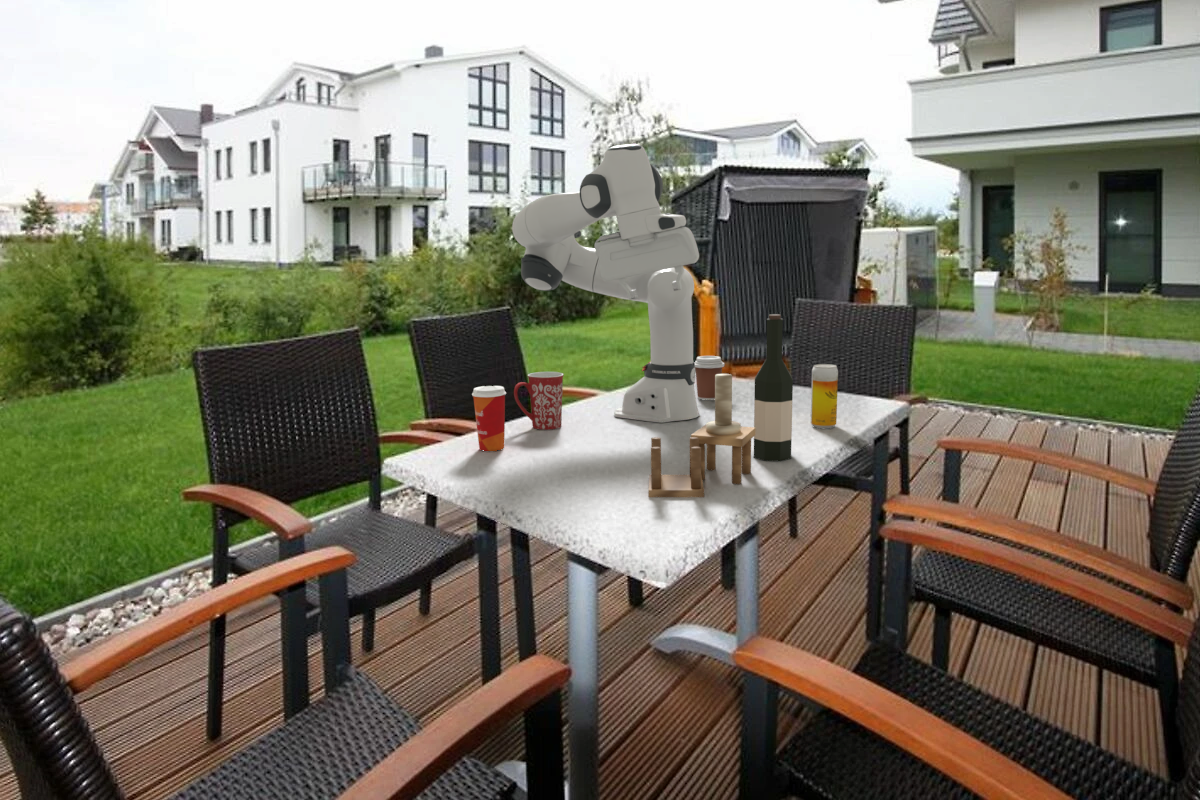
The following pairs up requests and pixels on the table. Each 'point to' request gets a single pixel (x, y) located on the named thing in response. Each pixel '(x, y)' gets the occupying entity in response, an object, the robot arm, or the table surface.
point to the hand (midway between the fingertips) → (655, 294)
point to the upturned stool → (676, 483)
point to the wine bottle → (773, 400)
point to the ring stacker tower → (723, 408)
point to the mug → (543, 399)
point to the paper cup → (490, 416)
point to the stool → (739, 450)
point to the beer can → (824, 395)
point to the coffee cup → (707, 375)
